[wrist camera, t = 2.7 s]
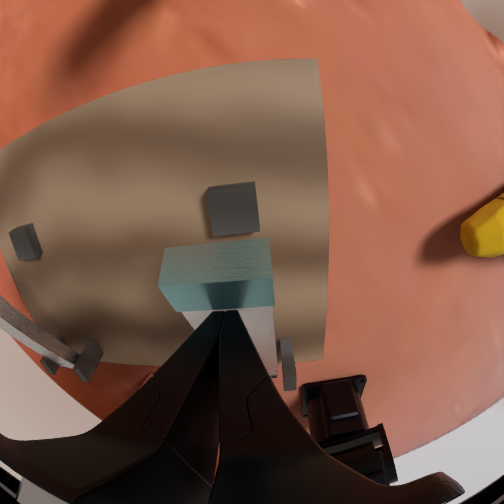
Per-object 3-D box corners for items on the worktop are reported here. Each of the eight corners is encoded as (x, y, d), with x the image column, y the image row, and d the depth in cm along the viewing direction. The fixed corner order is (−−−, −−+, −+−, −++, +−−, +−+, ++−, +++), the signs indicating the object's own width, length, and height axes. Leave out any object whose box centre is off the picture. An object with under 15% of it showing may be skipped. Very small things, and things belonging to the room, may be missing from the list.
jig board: (318, 341, 21) (330, 394, 16) (63, 342, 23) (40, 378, 18) (309, 66, 12) (335, 40, 8) (-7, 159, 14) (-50, 177, 9)
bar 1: (88, 357, 19) (86, 372, 18) (64, 353, 19) (61, 367, 18) (-23, 270, 9) (-32, 291, 8) (-39, 273, 9) (-47, 291, 8)
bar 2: (278, 360, 18) (280, 379, 17) (233, 363, 18) (233, 381, 17) (268, 237, 8) (272, 277, 7) (165, 247, 8) (157, 286, 7)
